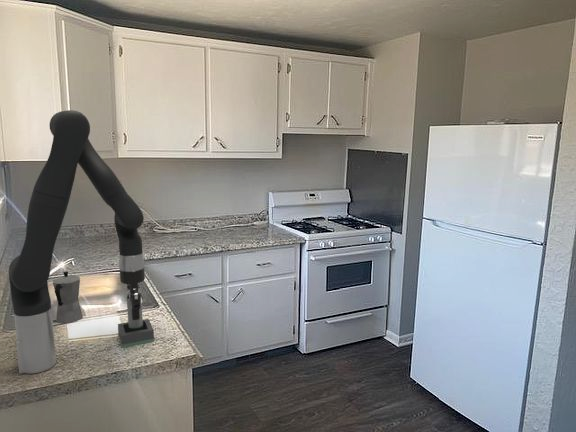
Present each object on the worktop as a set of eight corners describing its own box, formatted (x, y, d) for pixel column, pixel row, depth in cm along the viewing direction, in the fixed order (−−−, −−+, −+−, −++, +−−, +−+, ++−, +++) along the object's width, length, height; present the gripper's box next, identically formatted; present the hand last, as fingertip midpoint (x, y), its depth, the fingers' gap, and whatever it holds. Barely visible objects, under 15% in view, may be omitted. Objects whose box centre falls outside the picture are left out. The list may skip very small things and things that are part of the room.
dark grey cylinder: (126, 325, 143) (124, 296, 141) (139, 321, 146) (137, 292, 144) (132, 329, 140) (130, 299, 138) (145, 325, 143) (143, 296, 141)
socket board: (121, 347, 137) (121, 336, 136) (118, 335, 146) (117, 323, 145) (154, 341, 141) (153, 330, 141) (148, 329, 150) (148, 318, 149)
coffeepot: (63, 311, 164) (59, 266, 161) (89, 310, 165) (85, 265, 162) (45, 329, 149) (40, 279, 146) (73, 328, 150) (69, 279, 147)
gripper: (117, 262, 144) (120, 310, 147) (122, 274, 131) (125, 327, 134) (140, 259, 147) (143, 307, 150) (147, 271, 134) (150, 322, 137)
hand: (134, 316), depth 142 cm, fingers closed on dark grey cylinder, 4 cm apart
